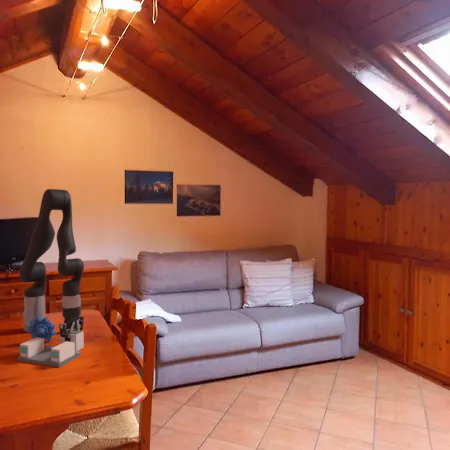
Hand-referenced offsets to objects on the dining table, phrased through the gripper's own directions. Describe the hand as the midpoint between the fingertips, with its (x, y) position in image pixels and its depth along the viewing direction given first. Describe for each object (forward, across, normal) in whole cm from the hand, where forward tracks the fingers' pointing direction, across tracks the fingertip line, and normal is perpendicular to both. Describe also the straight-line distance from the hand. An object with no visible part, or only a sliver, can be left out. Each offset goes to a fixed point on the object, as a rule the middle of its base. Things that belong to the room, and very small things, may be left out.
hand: (72, 343), depth 190 cm
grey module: (+2, 0, 0) cm, 2 cm away
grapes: (+2, -1, -17) cm, 17 cm away
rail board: (+2, +13, -1) cm, 13 cm away
